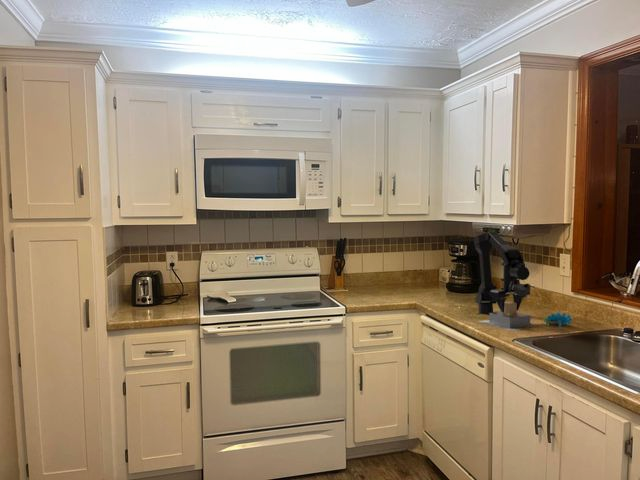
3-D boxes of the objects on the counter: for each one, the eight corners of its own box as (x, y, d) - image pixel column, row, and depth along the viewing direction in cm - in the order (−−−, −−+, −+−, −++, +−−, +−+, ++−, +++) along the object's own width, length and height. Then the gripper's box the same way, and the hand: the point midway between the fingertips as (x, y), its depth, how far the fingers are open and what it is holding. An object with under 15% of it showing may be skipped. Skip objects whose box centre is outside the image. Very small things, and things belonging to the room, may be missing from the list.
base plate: (477, 323, 219) (477, 321, 219) (507, 319, 226) (507, 317, 226) (511, 334, 201) (511, 331, 200) (542, 329, 208) (542, 326, 208)
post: (502, 323, 214) (502, 302, 214) (509, 322, 216) (509, 301, 215) (509, 325, 211) (509, 304, 210) (516, 324, 212) (517, 303, 212)
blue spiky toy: (572, 323, 211) (570, 310, 205) (573, 334, 208) (572, 322, 201) (544, 324, 216) (542, 311, 210) (546, 335, 213) (543, 323, 206)
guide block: (489, 322, 216) (489, 312, 216) (509, 319, 221) (509, 309, 221) (509, 328, 205) (510, 317, 205) (530, 325, 210) (530, 314, 210)
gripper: (508, 280, 201) (507, 317, 202) (540, 277, 208) (539, 312, 209) (489, 277, 211) (488, 312, 212) (520, 274, 218) (519, 308, 220)
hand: (509, 311), depth 213 cm, fingers open, 8 cm apart
